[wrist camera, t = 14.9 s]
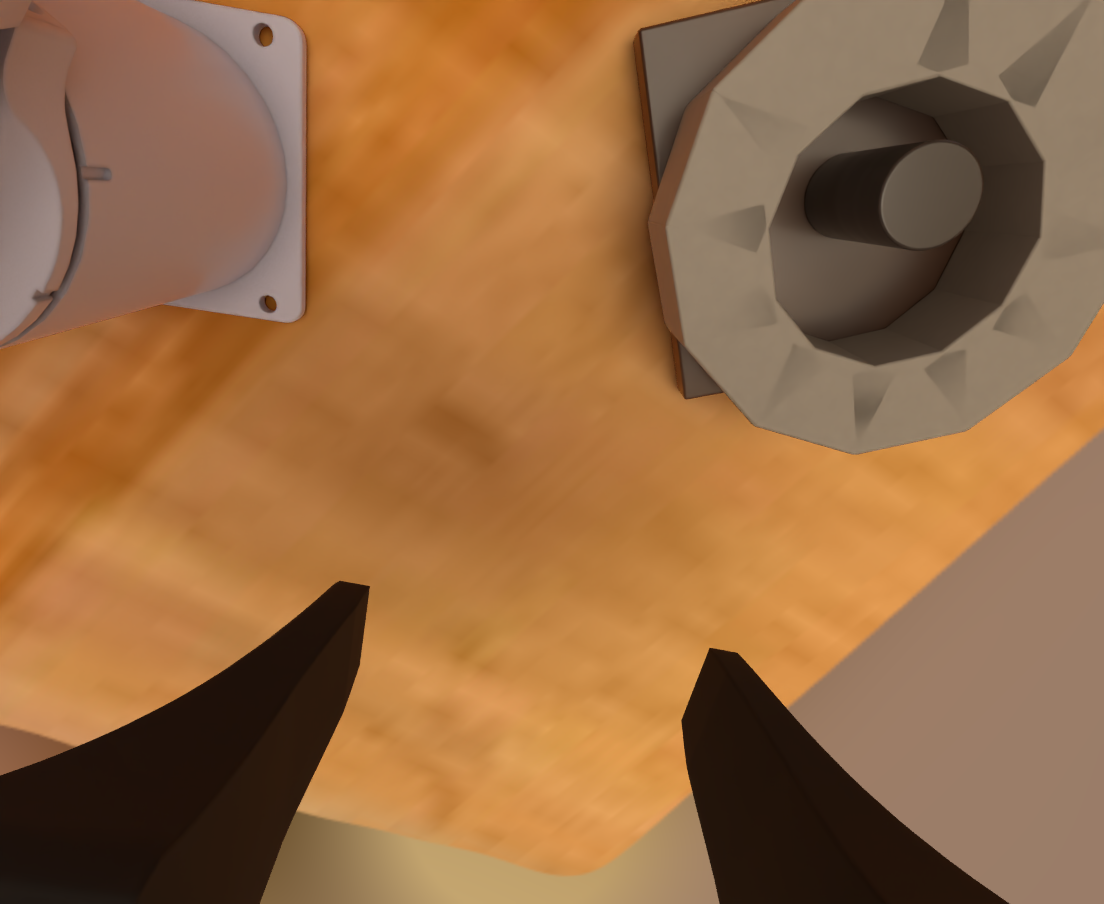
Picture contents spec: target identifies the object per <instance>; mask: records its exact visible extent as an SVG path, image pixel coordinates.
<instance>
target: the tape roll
mask: <svg viewBox="0 0 1104 904" xmlns="http://www.w3.org/2000/svg"><path fill="white" fill-rule="evenodd" d="M872 97H879V98H881V99H884V100H887V101H890V102H893V103H895V104H898V105H901V106H904V107H907V108H909V109H912V110H915V111H918V112H921V113H923V114H926V115H929V116H932V117H934V119H935V120H936V122H937V123H938V125H939V126H940V128H941V130H942V131H943V133H944V134H945V136H946V137H947V139H948V140H952V141H956V142H959V143H961V144H963V145H964V146H966V147H967V148H968V149H970V150H971V151H972V153H973V154H974V155H975V156H976V158H977V159H978V161H979V163H980V165H981V168H982V172H983V178H984V188H983V195H982V199H981V202H980V205H979V208H978V210H977V212H976V214H975V215H974V217H973V219H972V220H971V222H970V223H969V224H968V226H967V227H966V228H965V229H964V233H963V235H962V237H961V239H960V241H959V243H958V245H957V247H956V249H955V251H954V253H953V254H952V256H951V258H950V260H949V262H948V264H947V266H946V268H945V270H944V272H943V274H942V276H941V278H940V280H939V282H938V284H937V286H936V287H935V289H934V290H933V291H932V292H931V293H929V294H928V295H927V296H926V297H924V298H923V299H922V300H921V301H919V302H918V303H917V304H916V305H914V306H913V307H912V308H911V309H909V310H908V311H907V312H906V313H904V314H903V315H902V316H900V317H899V318H898V319H897V320H895V321H894V322H893V323H892V324H890V325H889V326H888V327H887V328H885V329H881V330H877V331H873V332H868V333H864V334H860V335H855V336H851V337H846V338H842V339H838V340H833V341H825V340H822V339H819V338H816V337H812V336H809V335H806V334H804V333H803V332H802V331H801V329H800V328H799V327H798V326H797V324H796V323H795V322H794V321H793V319H792V318H791V317H790V316H789V314H788V313H787V312H786V311H785V309H784V308H783V307H782V306H781V304H780V303H779V302H778V301H777V299H776V292H775V282H774V272H773V262H772V253H771V243H770V233H769V228H770V225H771V223H772V220H773V218H774V215H775V213H776V210H777V208H778V205H779V203H780V200H781V198H782V195H783V193H784V191H785V188H786V186H787V183H788V181H789V178H790V176H791V173H792V171H793V168H794V166H795V163H796V161H797V158H798V156H799V155H800V154H801V153H802V152H803V151H804V150H805V149H806V148H807V147H808V146H809V145H811V144H812V143H813V142H814V141H815V140H816V139H817V138H818V137H819V136H820V135H821V134H822V133H824V132H825V131H826V130H827V129H828V128H829V127H830V126H831V125H832V124H833V123H834V122H836V121H837V120H838V119H839V118H840V117H841V116H842V115H843V114H844V113H845V112H846V111H848V110H849V109H850V108H851V107H852V106H853V105H854V104H855V103H856V102H857V101H861V100H865V99H869V98H872ZM648 228H649V234H650V240H651V246H652V252H653V258H654V263H655V269H656V275H657V281H658V287H659V293H660V298H661V304H662V310H663V316H664V322H665V324H666V326H667V328H668V329H669V330H670V331H671V332H672V334H673V335H674V336H675V337H676V338H677V339H678V340H679V342H680V343H681V344H682V345H683V346H684V347H685V348H686V350H687V351H688V352H689V353H690V354H691V355H692V356H693V358H694V359H695V360H696V361H697V362H698V363H699V364H700V366H701V367H702V368H703V369H704V370H705V371H706V372H707V373H708V375H709V376H710V377H711V378H712V379H713V380H714V381H715V383H716V384H717V385H718V386H719V387H720V388H721V389H722V391H723V392H724V393H725V394H726V395H727V396H728V397H729V399H730V400H731V401H732V402H733V403H734V404H735V405H736V406H737V408H738V409H739V410H740V411H741V412H742V413H743V414H744V416H745V417H746V418H747V419H748V420H749V421H750V422H751V424H753V425H754V426H756V427H759V428H763V429H766V430H770V431H773V432H776V433H780V434H783V435H787V436H790V437H794V438H797V439H801V440H804V441H808V442H811V443H814V444H818V445H821V446H825V447H828V448H832V449H835V450H839V451H842V452H846V453H849V454H861V453H866V452H871V451H875V450H880V449H885V448H890V447H894V446H899V445H904V444H908V443H913V442H918V441H923V440H927V439H932V438H937V437H941V436H946V435H951V434H955V433H960V432H965V431H967V430H969V429H970V428H972V427H973V426H974V425H976V424H977V423H979V422H980V421H981V420H983V419H984V418H986V417H987V416H988V415H990V414H991V413H993V412H994V411H995V410H997V409H998V408H999V407H1001V406H1002V405H1004V404H1005V403H1006V402H1008V401H1009V400H1011V399H1012V398H1013V397H1015V396H1016V395H1018V394H1019V393H1020V392H1022V391H1023V390H1024V389H1026V388H1027V387H1029V386H1030V385H1031V384H1033V383H1034V382H1036V381H1037V380H1038V379H1040V378H1041V377H1043V376H1044V375H1045V374H1047V373H1048V372H1050V371H1051V370H1052V369H1054V368H1055V367H1056V366H1058V365H1059V364H1061V363H1062V362H1063V361H1065V360H1066V359H1068V358H1069V357H1070V356H1071V355H1072V353H1073V352H1074V350H1075V349H1076V347H1077V345H1078V344H1079V342H1080V340H1081V339H1082V337H1083V336H1084V334H1085V332H1086V331H1087V329H1088V328H1089V326H1090V324H1091V323H1092V321H1093V320H1094V318H1095V316H1096V315H1097V313H1098V311H1099V310H1100V308H1101V307H1102V305H1103V303H1104V0H796V1H794V2H793V3H792V4H791V5H789V6H788V7H787V8H786V9H784V10H783V11H782V12H781V13H779V14H778V15H777V16H776V17H775V18H774V19H773V20H772V21H771V22H770V23H769V24H768V25H767V26H766V27H765V28H764V29H763V30H762V31H761V32H760V33H759V34H758V35H757V36H756V37H755V38H754V39H753V40H752V41H751V42H750V43H749V44H748V45H747V46H746V47H745V48H744V49H743V50H742V51H741V52H740V53H739V54H738V55H737V56H736V57H735V58H734V59H733V60H732V61H731V62H730V63H729V64H728V65H727V66H726V67H725V68H724V69H723V70H722V71H721V72H720V73H719V74H718V75H717V76H716V77H715V78H714V79H713V80H712V81H711V82H710V83H709V84H708V85H707V86H706V87H705V88H704V89H703V90H702V91H701V92H700V93H699V94H698V95H697V96H696V97H695V98H694V99H693V100H692V101H691V102H690V103H689V104H688V105H687V107H686V109H685V110H684V113H683V116H682V119H681V122H680V125H679V129H678V132H677V135H676V138H675V141H674V144H673V147H672V150H671V153H670V156H669V159H668V162H667V165H666V168H665V171H664V174H663V177H662V180H661V183H660V186H659V189H658V192H657V195H656V198H655V201H654V204H653V207H652V210H651V213H650V216H649V219H648Z"/></svg>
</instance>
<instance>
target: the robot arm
mask: <svg viewBox="0 0 1104 904" xmlns="http://www.w3.org/2000/svg"><path fill="white" fill-rule="evenodd" d="M264 27H270V29H271V30H272V33H273V41H272V43H271V44H270V45H269V46H266V47H263V45H262V44H261V42H260V38H259V35H260V31H261V30H262V29H263V28H264ZM306 68H307V44H306V38H305V35H304V33H303V31H302V29H301V28H300V27H299V26H298V25H297V24H296V23H295V22H294V21H292V20H291V19H288V18H286V17H283V16H278V15H273V14H267V13H262V12H256V11H250V10H245V9H239V8H233V7H228V6H222V5H217V4H211V3H205V2H200V1H194V0H0V349H2V348H6V347H10V346H13V345H17V344H20V343H24V342H28V341H31V340H35V339H38V338H42V337H46V336H49V335H53V334H56V333H60V332H64V331H67V330H71V329H74V328H78V327H82V326H85V325H89V324H92V323H96V322H100V321H103V320H107V319H110V318H114V317H118V316H121V315H125V314H128V313H132V312H136V311H139V310H143V309H146V308H150V307H154V306H157V305H161V304H164V305H171V306H177V307H184V308H190V309H197V310H204V311H210V312H217V313H224V314H230V315H237V316H244V317H250V318H257V319H264V320H270V321H277V322H284V323H291V322H294V321H296V320H298V319H300V318H301V317H302V316H303V314H304V312H305V307H306ZM267 295H269V296H271V297H273V298H274V300H275V301H276V304H277V307H276V310H275V311H273V310H270V309H269V308H268V307H267V306H266V304H265V297H266V296H267ZM369 589H370V586H366V585H360V584H355V583H349V582H344V581H339V582H337V583H335V584H334V585H333V586H331V587H330V588H329V589H328V590H327V591H326V592H325V593H324V594H322V595H321V596H320V597H319V598H318V599H317V600H316V601H315V602H313V603H312V604H311V605H310V606H309V607H308V608H306V609H305V610H304V611H303V612H302V613H300V614H299V615H298V616H297V617H296V618H294V619H293V620H292V621H291V622H289V623H288V624H287V625H285V626H284V627H283V628H282V629H280V630H279V631H278V632H277V633H275V634H274V635H273V636H271V637H270V638H269V639H268V640H266V641H265V642H264V643H262V644H261V645H259V646H258V647H257V648H255V649H254V650H252V651H251V652H250V653H248V654H247V655H245V656H244V657H242V658H241V659H240V660H238V661H237V662H235V663H234V664H233V665H231V666H230V667H228V668H227V669H225V670H224V671H222V672H220V673H219V674H217V675H216V676H214V677H213V678H211V679H209V680H208V681H206V682H205V683H203V684H201V685H200V686H198V687H196V688H195V689H193V690H191V691H190V692H188V693H186V694H184V695H183V696H181V697H179V698H177V699H176V700H174V701H172V702H170V703H168V704H166V705H164V706H163V707H161V708H159V709H157V710H155V711H153V712H151V713H149V714H147V715H145V716H143V717H141V718H139V719H137V720H135V721H133V722H131V723H129V724H127V725H125V726H123V727H121V728H119V729H117V730H114V731H112V732H110V733H108V734H105V735H103V736H101V737H99V738H96V739H94V740H92V741H90V742H87V743H85V744H82V745H80V746H77V747H75V748H73V749H70V750H68V751H65V752H63V753H61V754H58V755H56V756H53V757H50V758H48V759H45V760H43V761H41V762H38V763H35V764H32V765H30V766H26V767H24V768H21V769H18V770H15V771H12V772H9V773H6V774H4V775H1V776H0V904H260V901H261V898H262V896H263V893H264V890H265V888H266V885H267V882H268V880H269V877H270V874H271V872H272V869H273V866H274V864H275V861H276V858H277V855H278V853H279V850H280V848H281V845H282V842H283V840H284V837H285V835H286V833H287V830H288V828H289V826H290V823H291V821H292V819H293V817H294V815H295V812H296V810H297V808H298V806H299V804H300V802H301V800H302V798H303V796H304V794H305V792H306V790H307V787H308V785H309V783H310V781H311V779H312V777H313V775H314V773H315V771H316V769H317V767H318V765H319V762H320V760H321V758H322V756H323V754H324V752H325V750H326V748H327V746H328V744H329V742H330V739H331V737H332V735H333V733H334V731H335V729H336V727H337V725H338V723H339V720H340V718H341V716H342V714H343V712H344V709H345V706H346V703H347V701H348V698H349V695H350V692H351V689H352V686H353V683H354V680H355V677H356V674H357V671H358V668H359V665H360V658H361V650H362V643H363V635H364V627H365V620H366V612H367V604H368V596H369ZM682 730H683V740H684V749H685V757H686V764H687V770H688V775H689V779H690V783H691V787H692V791H693V796H694V799H695V804H696V808H697V812H698V816H699V820H700V824H701V828H702V832H703V836H704V839H705V843H706V848H707V851H708V855H709V859H710V863H711V868H712V871H713V875H714V879H715V884H716V889H717V893H718V898H719V903H720V904H1009V903H1007V902H1006V901H1005V900H1003V899H1002V898H1000V897H999V896H998V895H996V894H995V893H993V892H992V891H991V890H989V889H988V888H986V887H985V886H983V885H982V884H980V883H979V882H978V881H976V880H975V879H973V878H972V877H971V876H969V875H968V874H966V873H965V872H964V871H962V870H961V869H960V868H958V867H957V866H956V865H954V864H953V863H952V862H950V861H949V860H948V859H946V858H945V857H944V856H942V855H941V854H940V853H939V852H937V851H936V850H935V849H934V848H933V847H931V846H930V845H929V844H928V843H926V842H925V841H924V840H922V839H921V838H920V837H919V836H917V835H916V834H915V833H914V832H912V831H911V830H910V829H909V828H908V827H906V826H905V825H904V824H903V823H902V822H900V821H899V820H898V819H897V818H896V817H895V816H893V815H892V814H891V813H890V812H889V811H888V810H887V809H885V808H884V807H883V806H882V805H881V804H880V803H879V802H878V801H877V800H876V799H874V798H873V797H872V796H871V795H870V794H869V793H868V792H867V791H865V790H864V789H863V788H862V787H861V786H860V785H859V784H858V783H857V782H856V781H855V780H854V779H853V778H852V777H851V776H850V775H849V774H848V773H847V772H846V771H844V769H842V767H841V766H840V765H839V764H838V763H837V762H836V761H835V760H834V759H833V758H832V757H831V756H830V755H829V754H828V753H827V752H826V751H825V750H824V749H823V748H822V747H821V746H820V745H819V744H818V743H817V742H816V740H815V739H814V738H813V737H812V736H811V735H810V734H809V733H808V732H807V731H806V730H805V729H804V727H803V726H802V725H801V724H800V723H799V722H798V721H797V720H796V719H795V718H794V716H793V715H792V714H791V713H790V712H789V711H788V710H787V708H786V707H785V706H784V705H783V704H782V703H781V702H780V700H779V699H778V698H777V697H776V696H775V695H774V693H773V692H772V691H771V690H770V689H769V688H768V687H767V685H766V684H765V683H764V682H763V681H762V680H761V678H760V677H759V676H758V675H757V674H756V673H755V672H754V670H753V669H752V668H751V667H750V666H749V665H748V664H747V663H746V661H745V660H744V659H743V658H742V657H741V656H740V655H739V654H738V653H735V652H730V651H724V650H719V649H713V648H709V651H708V654H707V656H706V659H705V661H704V664H703V666H702V669H701V672H700V674H699V677H698V679H697V682H696V684H695V687H694V689H693V692H692V695H691V697H690V700H689V702H688V705H687V707H686V710H685V713H684V715H683V718H682Z"/></svg>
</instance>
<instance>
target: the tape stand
mask: <svg viewBox="0 0 1104 904" xmlns="http://www.w3.org/2000/svg"><path fill="white" fill-rule="evenodd" d="M794 1H796V0H761V1H756V2H752V3H748V4H743V5H739V6H735V7H731V8H726V9H722V10H718V11H713V12H709V13H705V14H701V15H696V16H692V17H688V18H683V19H679V20H675V21H671V22H666V23H662V24H658V25H653V26H649V27H645V28H641V29H640V30H639V31H638V33H637V35H636V37H635V38H634V42H633V44H634V51H635V59H636V67H637V75H638V83H639V90H640V98H641V106H642V114H643V122H644V129H645V137H646V145H647V153H648V161H649V168H650V176H651V184H652V192H653V200H654V201H655V198H656V195H657V192H658V189H659V186H660V183H661V180H662V177H663V174H664V171H665V168H666V165H667V162H668V159H669V156H670V153H671V150H672V147H673V144H674V141H675V138H676V135H677V132H678V129H679V125H680V122H681V119H682V116H683V113H684V110H685V109H686V107H687V105H688V104H689V103H690V102H691V101H692V100H693V99H694V98H695V97H696V96H697V95H698V94H699V93H700V92H701V91H702V90H703V89H704V88H705V87H706V86H707V85H708V84H709V83H710V82H711V81H712V80H713V79H714V78H715V77H716V76H717V75H718V74H719V73H720V72H721V71H722V70H723V69H724V68H725V67H726V66H727V65H728V64H729V63H730V62H731V61H732V60H733V59H734V58H735V57H736V56H737V55H738V54H739V53H740V52H741V51H742V50H743V49H744V48H745V47H746V46H747V45H748V44H749V43H750V42H751V41H752V40H753V39H754V38H755V37H756V36H757V35H758V34H759V33H760V32H761V31H762V30H763V29H764V28H765V27H766V26H767V25H768V24H769V23H770V22H771V21H772V20H773V19H774V18H775V17H776V16H777V15H778V14H779V13H781V12H782V11H783V10H784V9H786V8H787V7H788V6H789V5H791V4H792V3H793V2H794ZM983 188H984V178H983V172H982V168H981V165H980V163H979V161H978V159H977V158H976V156H975V155H974V154H973V153H972V151H971V150H970V149H968V148H967V147H966V146H964V145H963V144H961V143H959V142H956V141H952V140H948V139H947V137H946V136H945V134H944V133H943V131H942V130H941V128H940V126H939V125H938V123H937V122H936V120H935V119H934V117H932V116H929V115H926V114H923V113H921V112H918V111H915V110H912V109H909V108H907V107H904V106H901V105H898V104H895V103H893V102H890V101H887V100H884V99H881V98H879V97H872V98H869V99H865V100H861V101H857V102H856V103H855V104H854V105H853V106H852V107H851V108H850V109H849V110H848V111H846V112H845V113H844V114H843V115H842V116H841V117H840V118H839V119H838V120H837V121H836V122H834V123H833V124H832V125H831V126H830V127H829V128H828V129H827V130H826V131H825V132H824V133H822V134H821V135H820V136H819V137H818V138H817V139H816V140H815V141H814V142H813V143H812V144H811V145H809V146H808V147H807V148H806V149H805V150H804V151H803V152H802V153H801V154H800V155H799V156H798V158H797V161H796V163H795V166H794V168H793V171H792V173H791V176H790V178H789V181H788V183H787V186H786V188H785V191H784V193H783V195H782V198H781V200H780V203H779V205H778V208H777V210H776V213H775V215H774V218H773V220H772V223H771V225H770V228H769V233H770V243H771V253H772V262H773V272H774V282H775V292H776V299H777V301H778V302H779V303H780V304H781V306H782V307H783V308H784V309H785V311H786V312H787V313H788V314H789V316H790V317H791V318H792V319H793V321H794V322H795V323H796V324H797V326H798V327H799V328H800V329H801V331H802V332H803V333H804V334H806V335H809V336H812V337H816V338H819V339H822V340H825V341H833V340H838V339H842V338H846V337H851V336H855V335H860V334H864V333H868V332H873V331H877V330H881V329H885V328H887V327H888V326H889V325H890V324H892V323H893V322H894V321H895V320H897V319H898V318H899V317H900V316H902V315H903V314H904V313H906V312H907V311H908V310H909V309H911V308H912V307H913V306H914V305H916V304H917V303H918V302H919V301H921V300H922V299H923V298H924V297H926V296H927V295H928V294H929V293H931V292H932V291H933V290H934V289H935V287H936V286H937V284H938V282H939V280H940V278H941V276H942V274H943V272H944V270H945V268H946V266H947V264H948V262H949V260H950V258H951V256H952V254H953V253H954V251H955V249H956V247H957V245H958V243H959V241H960V239H961V237H962V235H963V233H964V229H965V228H966V227H967V226H968V224H969V223H970V222H971V220H972V219H973V217H974V215H975V214H976V212H977V210H978V208H979V205H980V202H981V199H982V195H983ZM670 332H671V331H670ZM671 340H672V348H673V356H674V363H675V371H676V379H677V387H678V389H679V391H680V392H681V394H682V396H683V397H684V399H692V398H697V397H703V396H708V395H713V394H719V393H724V392H723V391H722V389H721V388H720V387H719V386H718V385H717V384H716V383H715V381H714V380H713V379H712V378H711V377H710V376H709V375H708V373H707V372H706V371H705V370H704V369H703V368H702V367H701V366H700V364H699V363H698V362H697V361H696V360H695V359H694V358H693V356H692V355H691V354H690V353H689V352H688V351H687V350H686V348H685V347H684V346H683V345H682V344H681V343H680V342H679V340H678V339H677V338H676V337H675V336H674V335H673V334H672V332H671Z"/></svg>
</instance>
